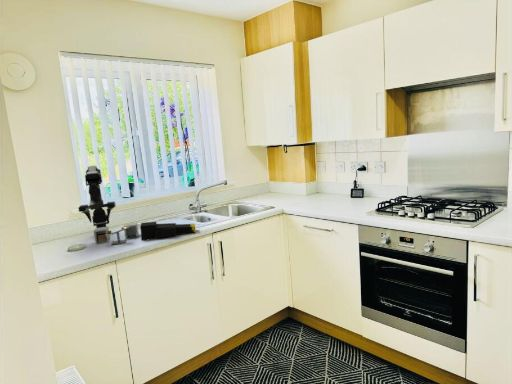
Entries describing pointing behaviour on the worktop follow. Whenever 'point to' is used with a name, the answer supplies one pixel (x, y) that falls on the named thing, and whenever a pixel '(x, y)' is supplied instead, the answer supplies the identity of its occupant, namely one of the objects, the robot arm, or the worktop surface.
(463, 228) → the worktop surface
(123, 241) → the balance
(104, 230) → the cover
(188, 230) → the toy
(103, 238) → the block
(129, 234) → the cover
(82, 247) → the dish
